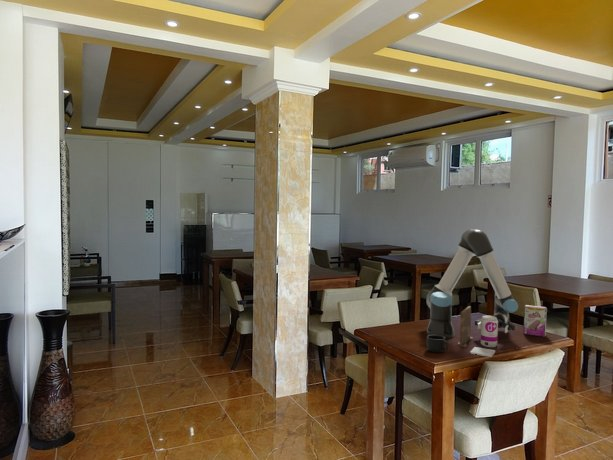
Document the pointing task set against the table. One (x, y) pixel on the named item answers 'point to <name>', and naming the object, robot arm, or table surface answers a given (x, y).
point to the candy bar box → (535, 320)
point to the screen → (465, 327)
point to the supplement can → (489, 331)
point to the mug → (436, 343)
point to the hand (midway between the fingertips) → (491, 328)
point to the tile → (482, 351)
